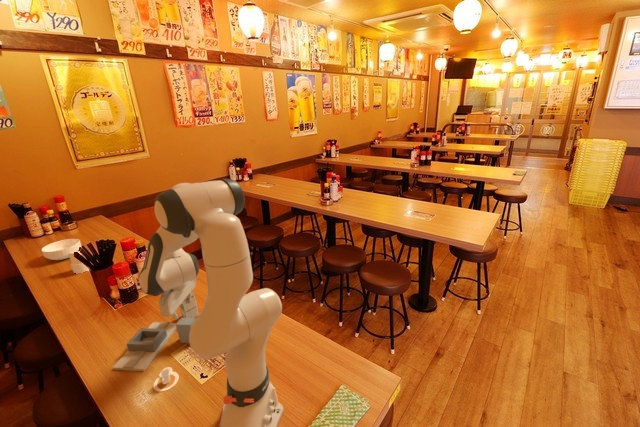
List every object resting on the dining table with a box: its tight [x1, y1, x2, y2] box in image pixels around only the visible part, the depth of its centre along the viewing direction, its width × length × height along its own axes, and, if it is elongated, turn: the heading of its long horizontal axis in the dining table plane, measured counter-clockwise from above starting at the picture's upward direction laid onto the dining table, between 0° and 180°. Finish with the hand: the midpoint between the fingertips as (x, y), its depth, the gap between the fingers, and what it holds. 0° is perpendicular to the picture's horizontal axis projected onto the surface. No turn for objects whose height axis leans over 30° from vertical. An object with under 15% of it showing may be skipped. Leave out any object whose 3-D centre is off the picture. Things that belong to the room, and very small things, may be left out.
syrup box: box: [179, 289, 200, 319], centre depth 134 cm, size 6×6×14 cm
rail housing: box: [112, 321, 177, 372], centre depth 120 cm, size 24×12×4 cm, turn 175°
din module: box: [175, 317, 197, 344], centre depth 121 cm, size 4×7×9 cm, turn 85°
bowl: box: [40, 238, 82, 261], centre depth 198 cm, size 20×20×8 cm
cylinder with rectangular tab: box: [68, 250, 90, 275], centre depth 178 cm, size 9×9×12 cm
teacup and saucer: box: [152, 366, 180, 393], centre depth 104 cm, size 9×8×4 cm
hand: (182, 309), depth 118 cm, fingers open, 8 cm apart
